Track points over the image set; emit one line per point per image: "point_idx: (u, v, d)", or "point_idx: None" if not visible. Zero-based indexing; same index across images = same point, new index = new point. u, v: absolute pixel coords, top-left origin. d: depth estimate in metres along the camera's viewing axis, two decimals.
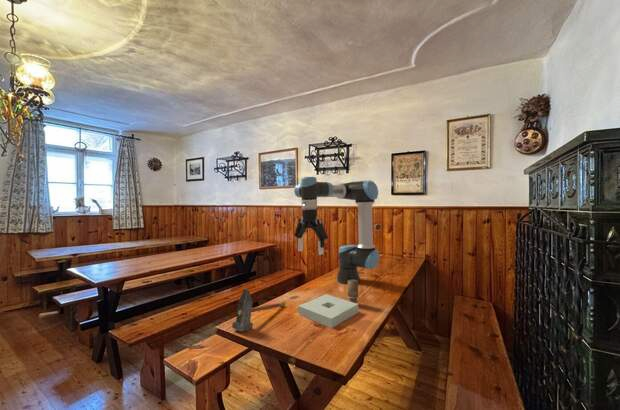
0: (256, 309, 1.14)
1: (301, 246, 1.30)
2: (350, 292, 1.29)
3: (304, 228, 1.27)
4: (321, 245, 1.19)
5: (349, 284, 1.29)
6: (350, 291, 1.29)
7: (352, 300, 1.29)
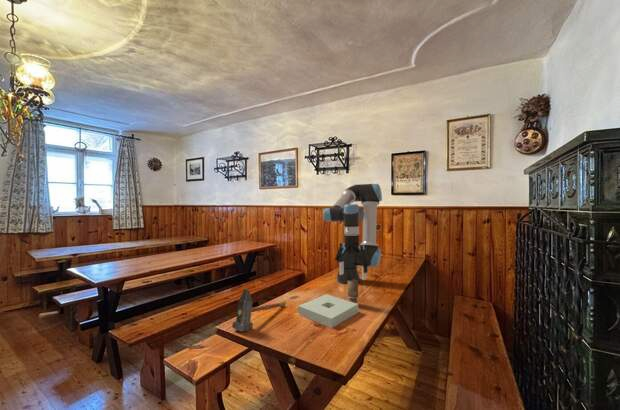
0: (256, 309, 1.14)
1: (342, 270, 1.35)
2: (350, 292, 1.29)
3: (346, 253, 1.32)
4: (365, 270, 1.24)
5: (349, 284, 1.29)
6: (350, 291, 1.29)
7: (352, 300, 1.29)
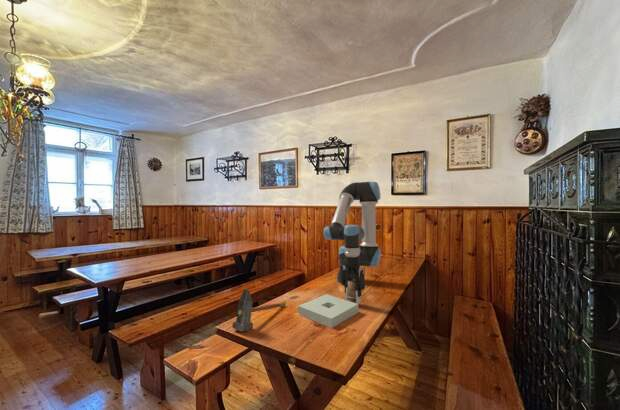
0: (256, 309, 1.14)
1: None
2: (350, 292, 1.29)
3: (349, 275, 1.31)
4: (358, 294, 1.27)
5: (349, 284, 1.29)
6: (350, 291, 1.29)
7: (352, 300, 1.29)
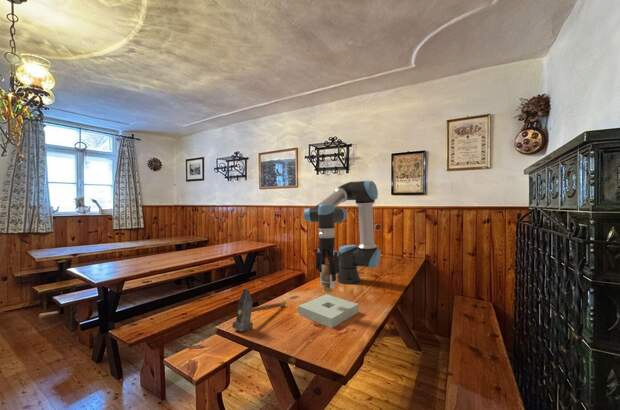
0: (256, 309, 1.14)
1: None
2: (324, 276, 1.19)
3: (323, 258, 1.21)
4: (333, 279, 1.18)
5: (323, 268, 1.19)
6: (324, 275, 1.19)
7: (326, 285, 1.19)
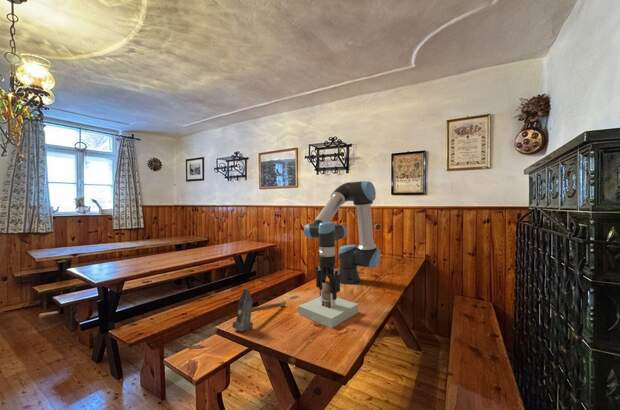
0: (256, 309, 1.14)
1: None
2: (324, 295, 1.19)
3: (324, 276, 1.22)
4: (333, 297, 1.18)
5: (323, 286, 1.19)
6: (324, 294, 1.19)
7: (326, 304, 1.19)
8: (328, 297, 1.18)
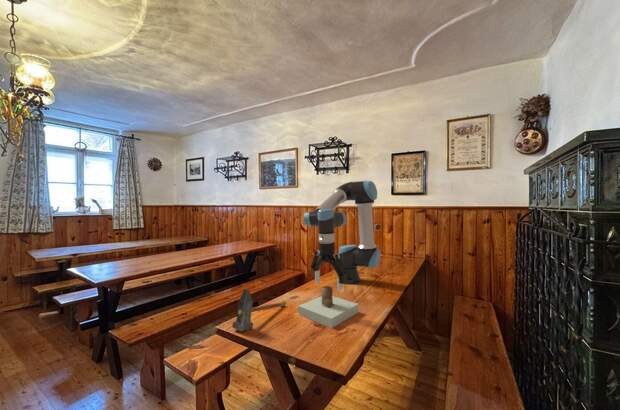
0: (256, 309, 1.14)
1: (318, 279, 1.26)
2: (323, 300, 1.19)
3: (321, 261, 1.23)
4: (340, 281, 1.15)
5: (322, 291, 1.20)
6: (323, 299, 1.19)
7: None
8: (327, 302, 1.19)
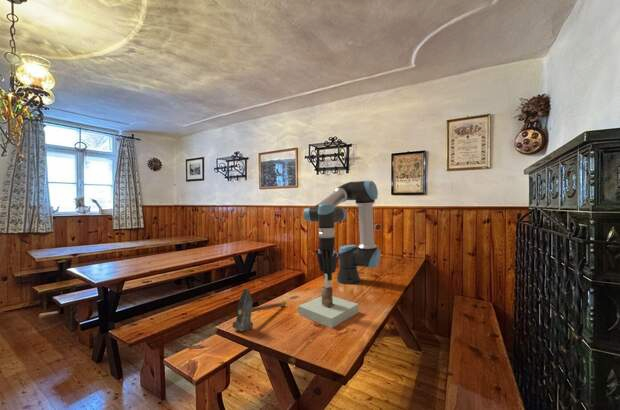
0: (256, 309, 1.14)
1: None
2: (323, 300, 1.19)
3: (325, 258, 1.21)
4: (329, 278, 1.20)
5: (322, 291, 1.20)
6: (323, 299, 1.19)
7: None
8: (327, 302, 1.19)
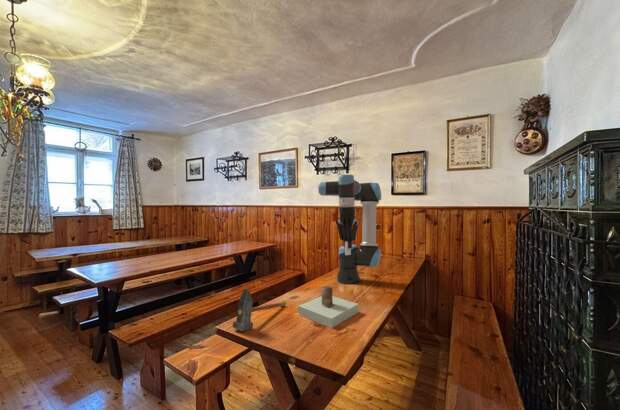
0: (256, 309, 1.14)
1: None
2: (323, 300, 1.19)
3: (345, 227, 1.26)
4: (349, 246, 1.25)
5: (322, 291, 1.20)
6: (323, 299, 1.19)
7: None
8: (327, 302, 1.19)
